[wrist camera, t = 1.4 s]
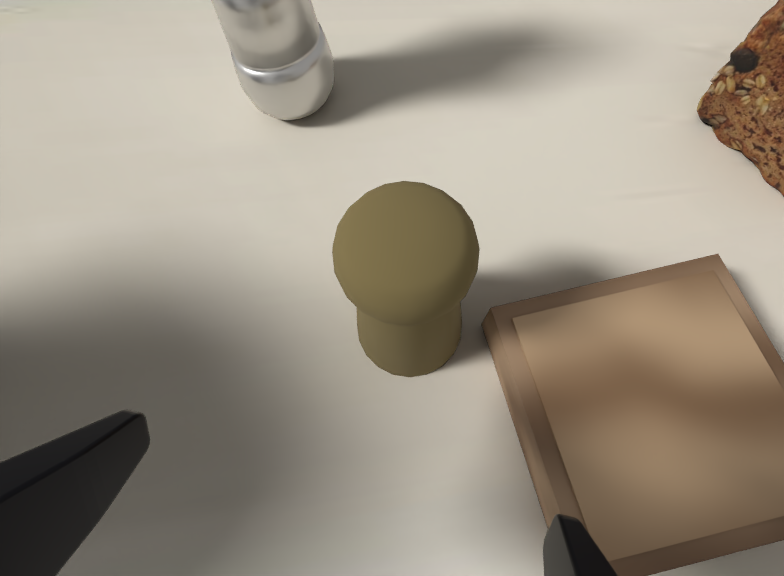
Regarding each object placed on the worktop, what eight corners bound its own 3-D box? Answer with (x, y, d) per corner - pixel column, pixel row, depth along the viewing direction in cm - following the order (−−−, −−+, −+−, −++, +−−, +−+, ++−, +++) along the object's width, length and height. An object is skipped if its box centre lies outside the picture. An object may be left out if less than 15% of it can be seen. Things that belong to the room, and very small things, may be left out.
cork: (440, 263, 24) (458, 132, 14) (478, 357, 22) (533, 284, 12) (345, 293, 24) (292, 182, 14) (374, 391, 22) (337, 348, 11)
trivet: (806, 504, 19) (879, 516, 16) (560, 568, 18) (588, 592, 15) (681, 276, 23) (720, 252, 20) (481, 324, 23) (491, 306, 20)
